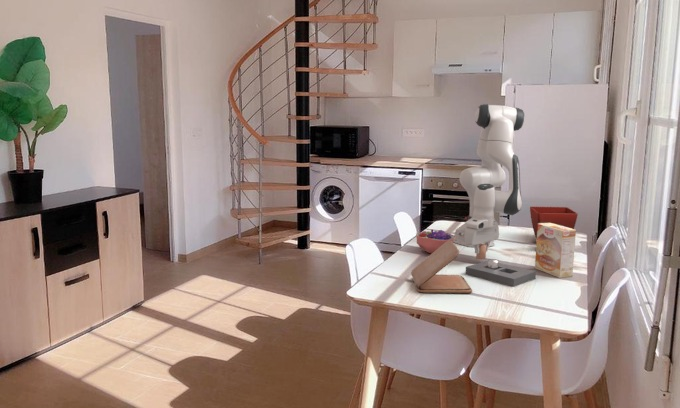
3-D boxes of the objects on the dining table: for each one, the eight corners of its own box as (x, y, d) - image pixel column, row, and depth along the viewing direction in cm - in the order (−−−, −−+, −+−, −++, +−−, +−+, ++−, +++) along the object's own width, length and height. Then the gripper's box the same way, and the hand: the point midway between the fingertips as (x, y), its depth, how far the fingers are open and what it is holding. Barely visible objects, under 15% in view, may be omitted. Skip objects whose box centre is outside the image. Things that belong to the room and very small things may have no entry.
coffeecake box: (533, 268, 235) (536, 223, 232) (547, 266, 238) (550, 222, 234) (558, 278, 221) (562, 230, 218) (573, 276, 224) (576, 229, 221)
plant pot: (535, 245, 275) (537, 212, 273) (527, 237, 294) (529, 206, 291) (575, 247, 273) (578, 213, 270) (565, 238, 292) (567, 207, 289)
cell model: (433, 246, 274) (434, 223, 272) (462, 254, 257) (463, 230, 255) (406, 250, 265) (407, 227, 263) (435, 259, 248) (436, 235, 246)
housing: (465, 273, 226) (465, 266, 226) (488, 267, 237) (488, 260, 236) (513, 286, 210) (514, 279, 209) (535, 278, 220) (536, 271, 220)
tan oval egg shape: (474, 258, 244) (475, 244, 242) (479, 256, 246) (480, 243, 245) (481, 260, 240) (482, 246, 239) (487, 258, 243) (488, 245, 242)
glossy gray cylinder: (485, 274, 226) (486, 259, 225) (491, 272, 229) (491, 258, 228) (494, 276, 223) (494, 262, 222) (499, 274, 226) (500, 260, 225)
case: (410, 277, 221) (411, 238, 219) (463, 278, 221) (464, 239, 218) (415, 294, 201) (416, 251, 198) (473, 295, 200) (475, 252, 198)
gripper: (491, 217, 249) (489, 247, 252) (462, 223, 236) (460, 254, 239) (503, 219, 244) (501, 250, 247) (474, 225, 232) (472, 257, 234)
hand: (481, 252), depth 243 cm, fingers closed on tan oval egg shape, 4 cm apart
